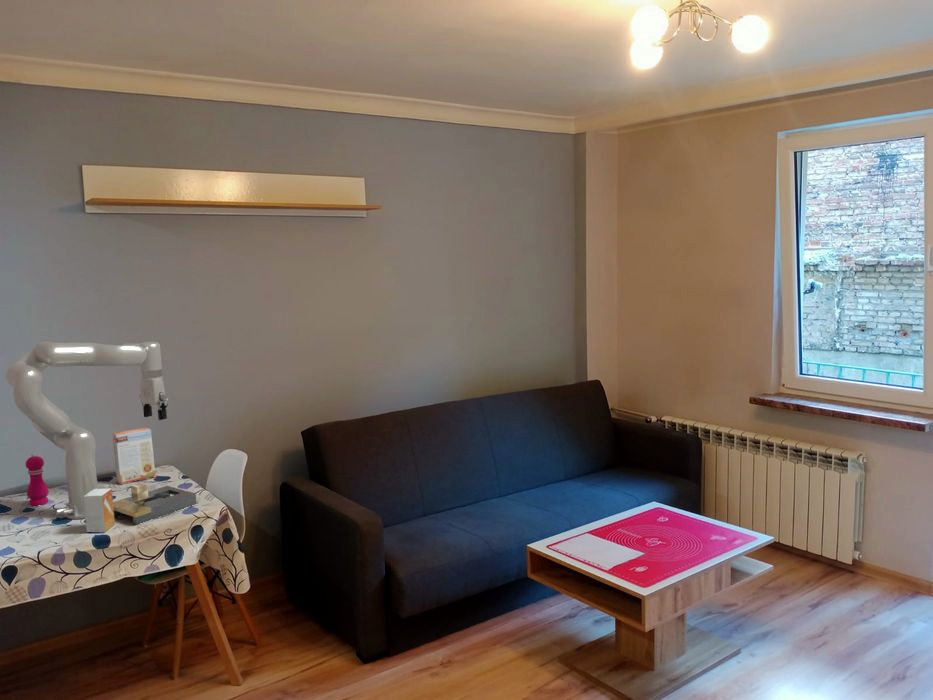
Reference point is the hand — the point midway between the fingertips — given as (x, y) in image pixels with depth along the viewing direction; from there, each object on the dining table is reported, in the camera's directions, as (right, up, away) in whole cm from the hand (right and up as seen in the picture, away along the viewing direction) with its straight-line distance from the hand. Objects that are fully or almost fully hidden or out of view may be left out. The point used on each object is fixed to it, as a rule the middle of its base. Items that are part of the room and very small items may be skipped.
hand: (155, 417), depth 284 cm
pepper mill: (-42, -32, -5) cm, 53 cm away
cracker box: (-18, -28, +23) cm, 40 cm away
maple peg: (+3, -33, -19) cm, 38 cm away
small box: (-5, -35, -32) cm, 48 cm away
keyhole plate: (+5, -33, -15) cm, 36 cm away
